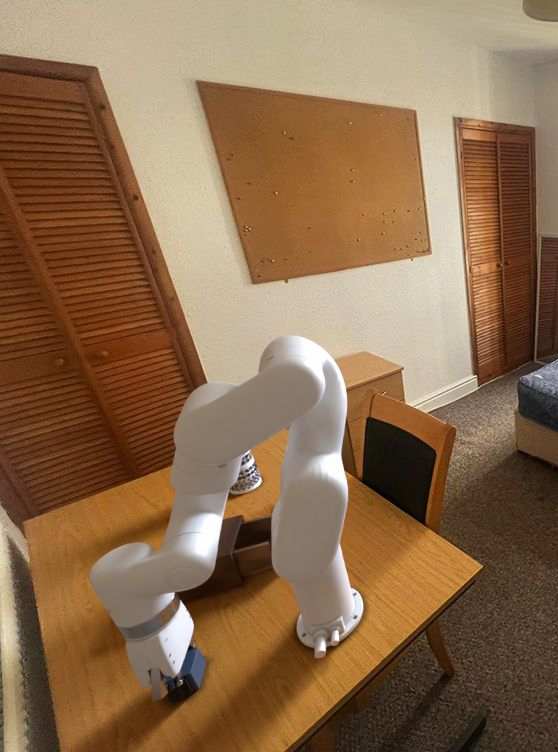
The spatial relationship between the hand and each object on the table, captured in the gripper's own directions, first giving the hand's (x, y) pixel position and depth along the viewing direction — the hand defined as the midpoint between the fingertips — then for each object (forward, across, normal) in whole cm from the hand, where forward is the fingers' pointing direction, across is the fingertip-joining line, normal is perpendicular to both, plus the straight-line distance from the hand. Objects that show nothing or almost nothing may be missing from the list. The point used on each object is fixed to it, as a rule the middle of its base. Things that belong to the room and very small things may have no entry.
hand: (187, 679), depth 72 cm
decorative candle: (+1, -58, -1) cm, 58 cm away
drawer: (-1, -25, +10) cm, 27 cm away
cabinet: (0, -25, -2) cm, 25 cm away
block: (0, 0, 0) cm, 0 cm away
